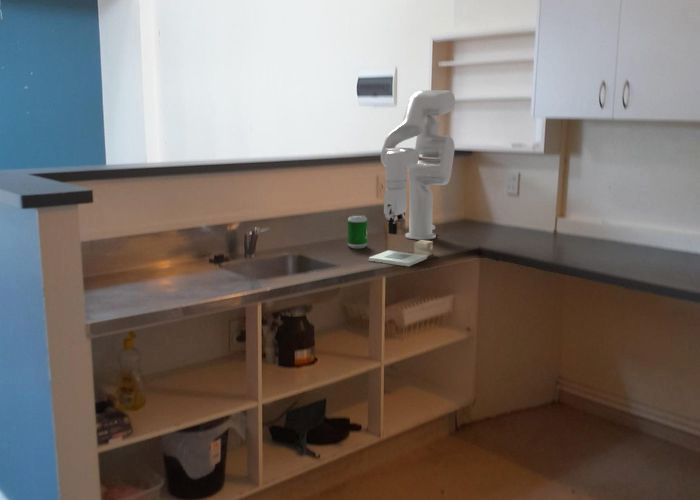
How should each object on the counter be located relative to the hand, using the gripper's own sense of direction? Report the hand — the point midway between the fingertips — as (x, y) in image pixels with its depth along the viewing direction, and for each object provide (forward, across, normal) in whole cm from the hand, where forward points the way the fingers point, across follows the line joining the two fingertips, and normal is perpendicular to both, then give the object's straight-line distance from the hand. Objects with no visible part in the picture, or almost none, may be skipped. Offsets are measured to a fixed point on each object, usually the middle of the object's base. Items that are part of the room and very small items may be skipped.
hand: (396, 231), depth 268 cm
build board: (+6, +14, +8) cm, 17 cm away
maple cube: (+7, +2, +12) cm, 14 cm away
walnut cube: (+1, 0, 0) cm, 1 cm away
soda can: (+7, +3, -16) cm, 18 cm away
